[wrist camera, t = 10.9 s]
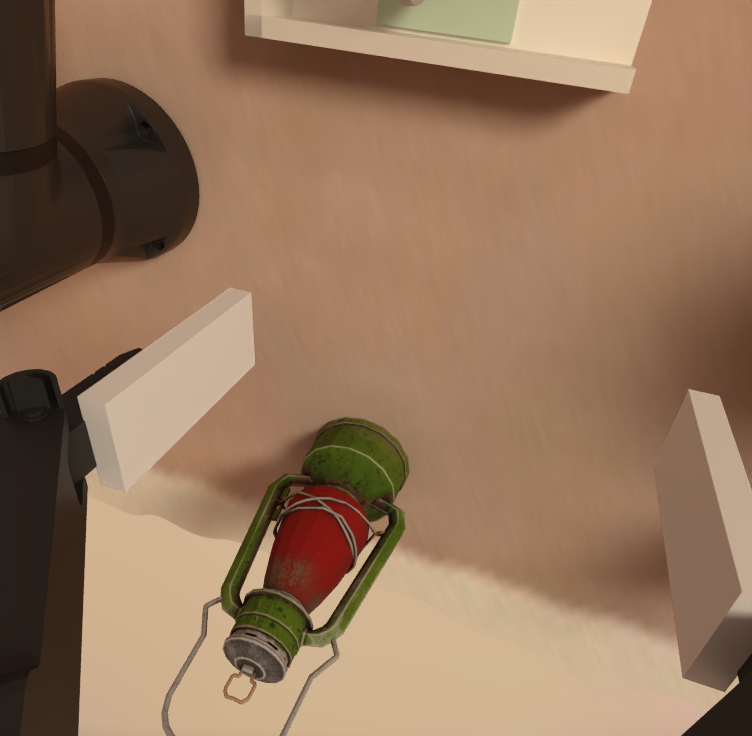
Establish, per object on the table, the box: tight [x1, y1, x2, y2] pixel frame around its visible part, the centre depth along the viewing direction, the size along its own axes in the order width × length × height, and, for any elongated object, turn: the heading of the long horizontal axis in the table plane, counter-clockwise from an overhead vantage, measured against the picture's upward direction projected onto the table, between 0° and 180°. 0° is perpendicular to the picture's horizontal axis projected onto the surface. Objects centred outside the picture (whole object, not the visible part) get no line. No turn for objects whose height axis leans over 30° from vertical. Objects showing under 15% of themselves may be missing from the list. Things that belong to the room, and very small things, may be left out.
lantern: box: [162, 417, 409, 736], centre depth 47 cm, size 14×11×30 cm
